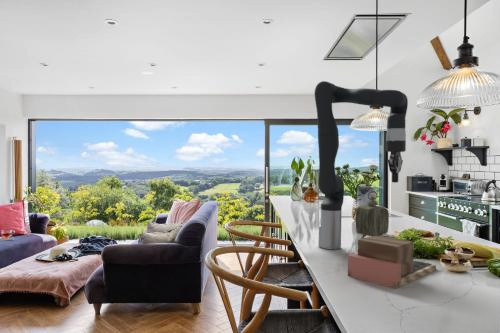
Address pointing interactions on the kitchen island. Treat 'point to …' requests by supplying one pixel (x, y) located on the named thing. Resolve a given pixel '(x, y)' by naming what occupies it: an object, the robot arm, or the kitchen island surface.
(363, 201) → the juice carton
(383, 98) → the robot arm
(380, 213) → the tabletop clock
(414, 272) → the roller track
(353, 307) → the kitchen island surface
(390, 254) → the brown cardboard box
